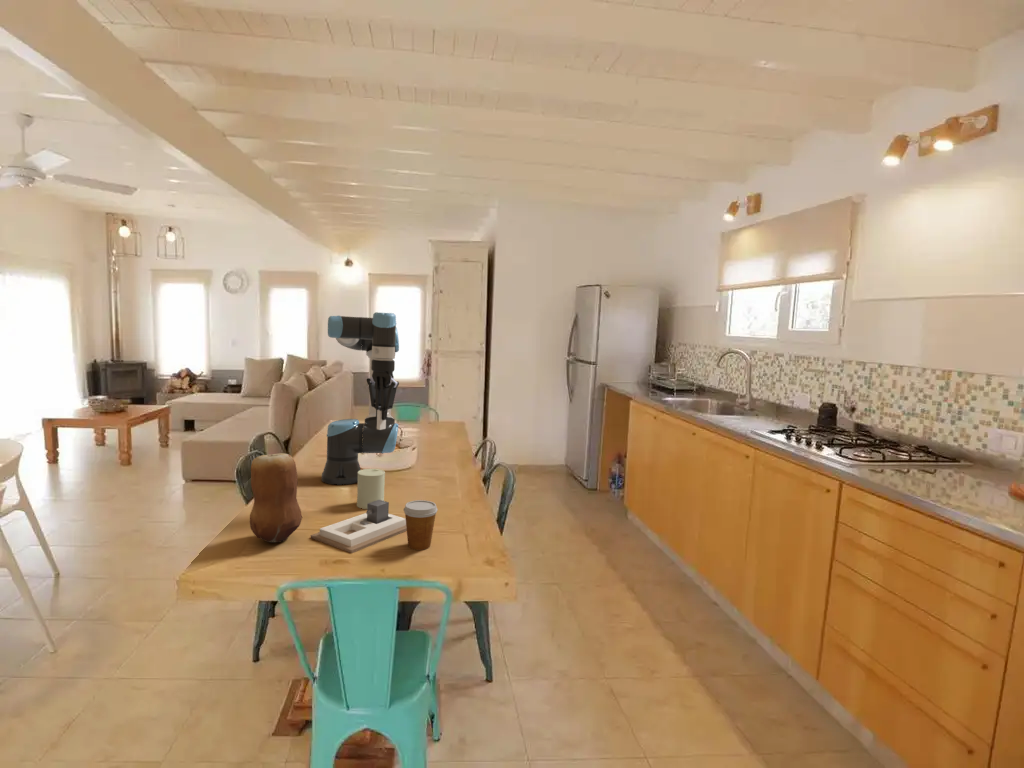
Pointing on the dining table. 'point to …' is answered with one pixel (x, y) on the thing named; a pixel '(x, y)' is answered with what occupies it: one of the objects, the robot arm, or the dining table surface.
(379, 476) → the can
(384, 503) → the plug
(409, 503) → the disposable coffee cup
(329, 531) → the socket board
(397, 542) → the dining table surface
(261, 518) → the butternut squash
